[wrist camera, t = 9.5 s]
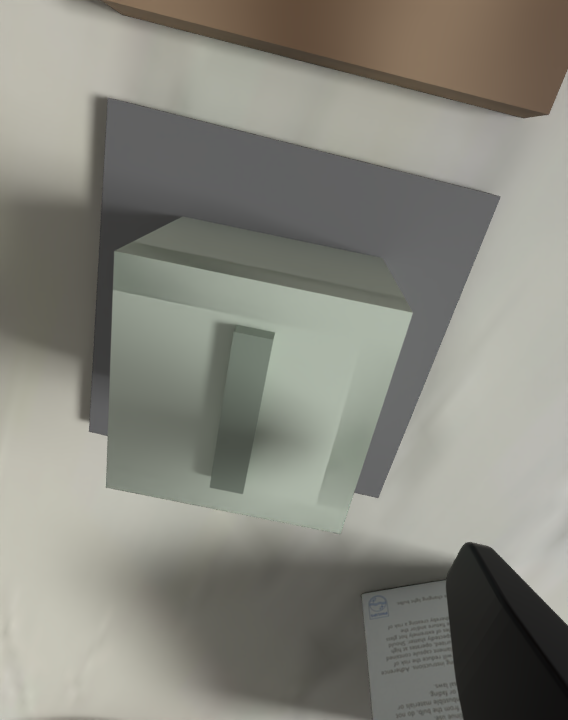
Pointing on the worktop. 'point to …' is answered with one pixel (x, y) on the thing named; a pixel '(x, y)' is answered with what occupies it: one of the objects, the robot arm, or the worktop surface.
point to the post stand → (398, 41)
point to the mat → (291, 231)
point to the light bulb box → (410, 654)
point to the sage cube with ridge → (248, 370)
